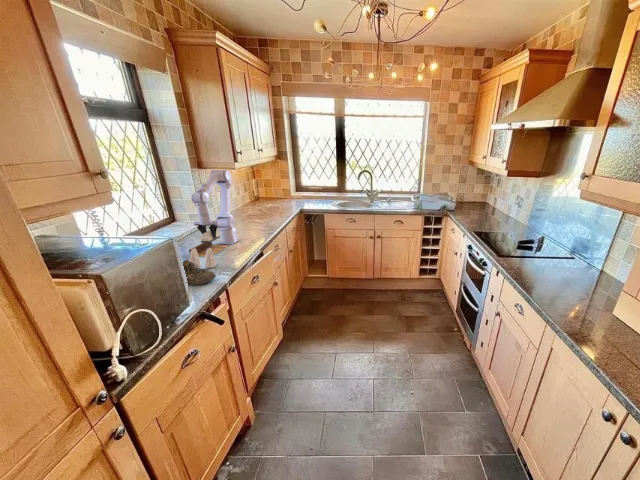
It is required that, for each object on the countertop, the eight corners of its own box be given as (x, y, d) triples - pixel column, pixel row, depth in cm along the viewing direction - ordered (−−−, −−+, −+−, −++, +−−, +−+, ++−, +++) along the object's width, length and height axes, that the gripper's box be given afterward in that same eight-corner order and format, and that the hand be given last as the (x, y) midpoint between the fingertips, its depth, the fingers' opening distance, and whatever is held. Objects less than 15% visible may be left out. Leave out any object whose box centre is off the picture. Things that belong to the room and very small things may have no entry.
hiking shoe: (207, 282, 136) (206, 256, 137) (163, 287, 137) (162, 260, 138) (220, 284, 145) (219, 259, 146) (178, 288, 147) (177, 263, 148)
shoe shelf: (210, 245, 193) (209, 239, 191) (229, 245, 192) (227, 239, 190) (190, 256, 175) (188, 249, 173) (210, 256, 174) (209, 250, 172)
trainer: (212, 237, 185) (210, 229, 183) (220, 237, 184) (218, 229, 182) (201, 242, 175) (199, 235, 173) (209, 242, 175) (207, 235, 173)
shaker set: (191, 272, 153) (184, 251, 148) (190, 269, 156) (183, 249, 151) (217, 267, 159) (212, 246, 154) (216, 264, 162) (210, 244, 157)
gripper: (187, 215, 170) (194, 239, 176) (212, 216, 169) (218, 239, 175) (195, 213, 176) (201, 236, 182) (219, 213, 175) (225, 236, 181)
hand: (210, 237), depth 179 cm, fingers closed on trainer, 4 cm apart
